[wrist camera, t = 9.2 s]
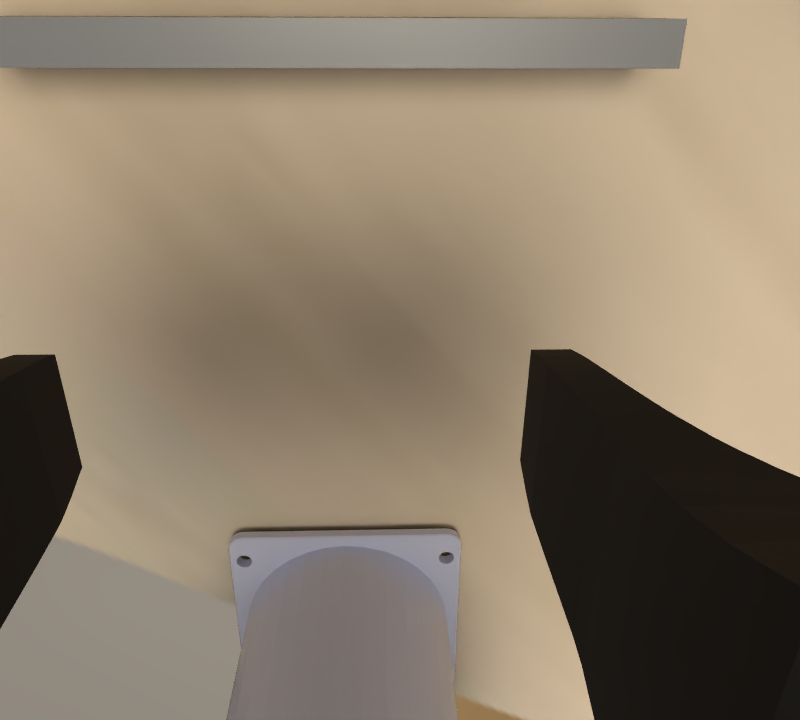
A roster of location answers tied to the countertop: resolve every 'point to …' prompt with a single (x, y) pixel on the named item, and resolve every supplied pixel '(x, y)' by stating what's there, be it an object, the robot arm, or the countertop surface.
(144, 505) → the countertop surface
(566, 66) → the low fence
